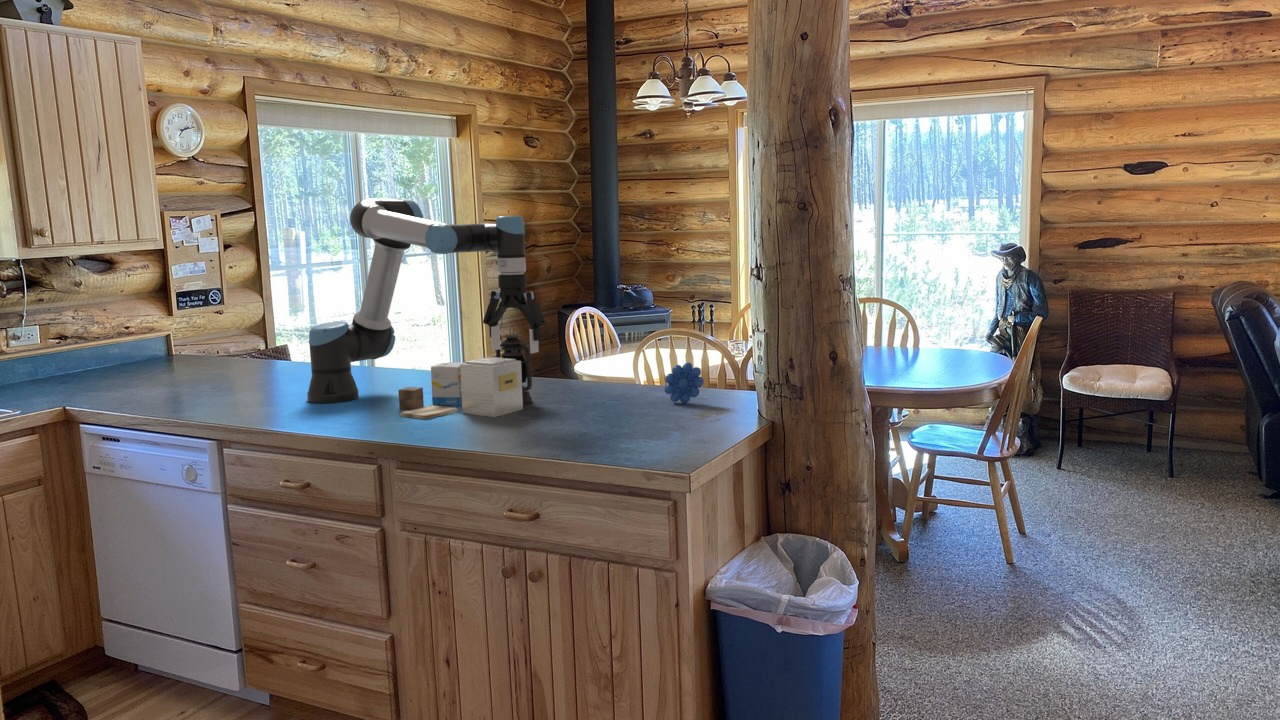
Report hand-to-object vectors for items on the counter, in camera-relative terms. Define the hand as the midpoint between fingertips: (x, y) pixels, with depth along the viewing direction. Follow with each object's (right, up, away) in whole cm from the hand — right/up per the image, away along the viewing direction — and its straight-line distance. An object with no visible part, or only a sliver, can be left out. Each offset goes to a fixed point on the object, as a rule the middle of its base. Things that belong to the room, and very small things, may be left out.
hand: (515, 351), depth 261 cm
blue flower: (+47, -15, +15) cm, 52 cm away
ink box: (-22, -15, +23) cm, 35 cm away
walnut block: (-32, -17, +15) cm, 39 cm away
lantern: (-3, -15, +21) cm, 26 cm away
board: (-25, -18, +7) cm, 31 cm away
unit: (-7, -17, +9) cm, 20 cm away
